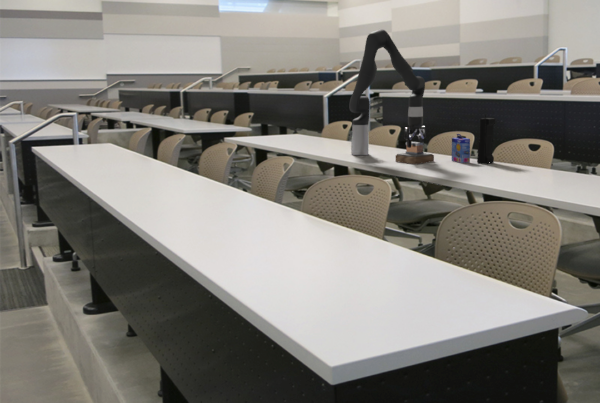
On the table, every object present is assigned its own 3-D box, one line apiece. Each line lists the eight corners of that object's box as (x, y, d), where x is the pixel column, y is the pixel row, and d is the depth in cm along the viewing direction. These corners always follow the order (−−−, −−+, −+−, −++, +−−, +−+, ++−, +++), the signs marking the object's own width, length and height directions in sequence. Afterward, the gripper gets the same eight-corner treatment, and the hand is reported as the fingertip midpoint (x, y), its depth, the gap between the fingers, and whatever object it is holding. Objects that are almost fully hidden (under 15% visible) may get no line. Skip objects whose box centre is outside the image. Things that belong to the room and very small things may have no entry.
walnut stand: (395, 161, 338) (395, 154, 337) (413, 159, 346) (414, 151, 345) (415, 164, 327) (415, 156, 326) (433, 161, 335) (434, 153, 334)
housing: (417, 155, 331) (417, 143, 330) (405, 153, 337) (405, 142, 336) (423, 154, 334) (423, 142, 333) (412, 152, 340) (412, 141, 339)
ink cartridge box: (450, 160, 336) (451, 133, 334) (459, 160, 338) (460, 132, 335) (460, 163, 327) (461, 134, 324) (470, 162, 329) (471, 134, 326)
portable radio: (484, 161, 331) (485, 112, 326) (494, 162, 327) (496, 113, 322) (476, 163, 325) (477, 113, 321) (487, 164, 321) (488, 114, 316)
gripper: (411, 116, 325) (410, 148, 328) (430, 115, 333) (429, 146, 336) (400, 116, 331) (400, 147, 334) (419, 114, 339) (418, 145, 342)
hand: (414, 146), depth 335 cm, fingers open, 8 cm apart
